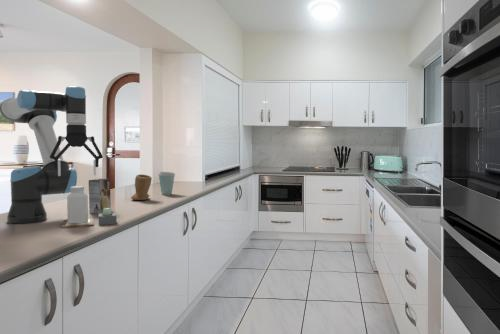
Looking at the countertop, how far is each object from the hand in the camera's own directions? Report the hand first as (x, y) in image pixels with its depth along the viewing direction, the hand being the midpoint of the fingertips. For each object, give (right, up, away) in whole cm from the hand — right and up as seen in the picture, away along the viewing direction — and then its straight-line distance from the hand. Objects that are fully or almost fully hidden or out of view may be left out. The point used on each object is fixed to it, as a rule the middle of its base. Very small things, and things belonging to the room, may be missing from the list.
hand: (77, 175), depth 168 cm
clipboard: (0, -20, +1) cm, 20 cm away
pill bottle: (0, -20, +1) cm, 20 cm away
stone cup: (+8, -16, +73) cm, 75 cm away
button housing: (+11, -20, +3) cm, 23 cm away
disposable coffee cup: (+17, -15, +97) cm, 99 cm away
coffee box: (-2, -19, +30) cm, 36 cm away
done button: (+11, -18, +3) cm, 21 cm away
